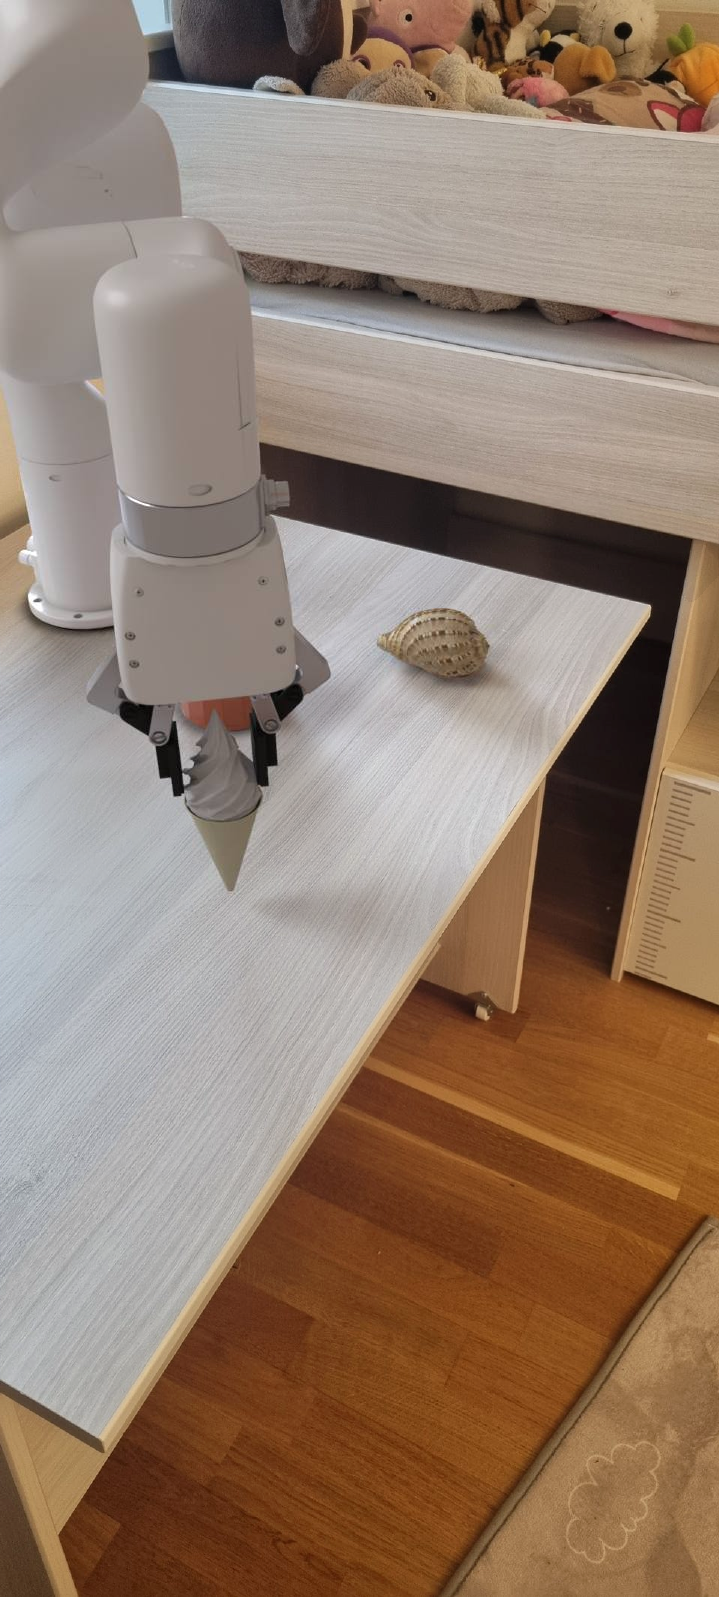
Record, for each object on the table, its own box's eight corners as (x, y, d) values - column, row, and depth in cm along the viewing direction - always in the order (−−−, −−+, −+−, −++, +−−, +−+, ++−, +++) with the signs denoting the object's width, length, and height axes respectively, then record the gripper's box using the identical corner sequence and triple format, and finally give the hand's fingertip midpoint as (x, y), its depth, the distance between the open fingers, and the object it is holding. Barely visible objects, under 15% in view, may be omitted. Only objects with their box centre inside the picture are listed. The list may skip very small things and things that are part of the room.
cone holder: (160, 710, 102) (151, 639, 97) (224, 667, 107) (217, 597, 103) (237, 742, 98) (230, 669, 93) (299, 695, 103) (295, 624, 99)
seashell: (392, 711, 106) (497, 677, 102) (363, 657, 103) (470, 619, 99) (402, 666, 112) (502, 631, 108) (374, 613, 109) (476, 576, 105)
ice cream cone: (193, 866, 83) (175, 686, 74) (266, 862, 84) (257, 683, 74) (191, 917, 79) (172, 734, 70) (268, 913, 80) (259, 731, 70)
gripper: (337, 468, 68) (341, 729, 79) (33, 492, 66) (83, 757, 77) (361, 527, 62) (362, 799, 74) (28, 556, 60) (83, 832, 71)
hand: (219, 775), depth 75 cm, fingers closed on ice cream cone, 4 cm apart
